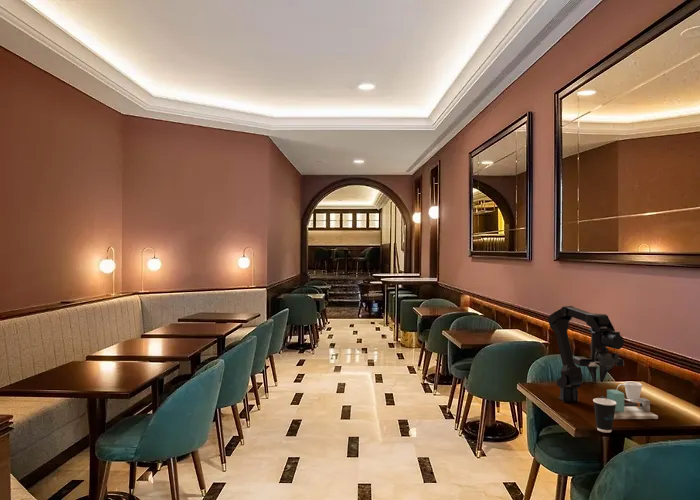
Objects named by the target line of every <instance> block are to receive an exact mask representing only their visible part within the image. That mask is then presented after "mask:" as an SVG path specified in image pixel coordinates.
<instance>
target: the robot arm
mask: <svg viewBox="0 0 700 500" xmlns="http://www.w3.org/2000/svg"><path fill="white" fill-rule="evenodd" d="M573 318H574V319H576V320H579V321H582V322H584V323H586V325H587V326H588V327H590V328H588V329H587V333H590V335H591V336H590V345H589V349H590V355H588V358H587V357H585V356H574V355H573V351H572V348H571V344H570V339H569V335H568V330H569V327H570V321H571V320H573ZM547 323H548V325H549V327H550V330H552V332H553V333H554V334H555V336H556V338H555V339H556V342H557V346H558V350H559V355H560V359H561V363H562V367H561V369H560V377H559V378H558V379H557V381H556V385H557V387H558V388H559V396H558V398H557V399H559V400H560V401H562V402H563V403H567V404H568V403H569V404H570V403H573V404H574V403H579V402H580V401H579V391H578V388H581V387H582V383H583V379H584V378H583V377H584V375H583V371H582V368H581V367H586V369H587V370H588V372H589V374H590V377H591V379H592V381H593V382H594V383H597V369H598V368H599V380H600V382H601V383H603V382H604V380H605V378H606V376H607V374H608V371H609V370H611V369H613V368H614V365H615V366H616V367H624V366H625V361H624V359H623V358H620V356H619V354H618V353H610V352H609V351H610V350H609V348H611V349H615V350H620V349H622V348H623V346H624V344H625V340H624V338H623V336H622V335H621V333H620V332H621V331H616V329H615V327H614V326H613V323H612V322H611V320H610V318H609V315H608V314H606V313H597V312H596V313H593V312H590V311H586V310H583V309H580V308H577V307H575V306H573V305H564V306H562V307H561V308H560V309H558V310H556V311H554V312H553V313H550V315H549V316H548V319H547ZM596 364H599V367H598V366H596Z"/></svg>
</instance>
